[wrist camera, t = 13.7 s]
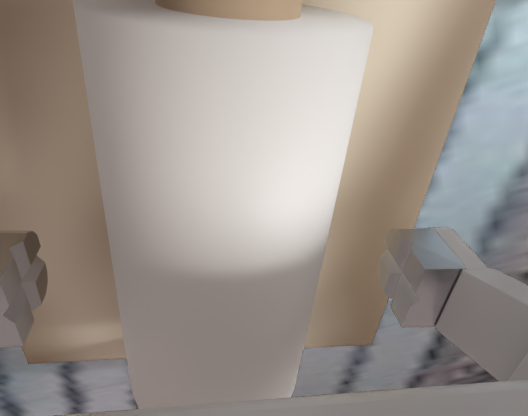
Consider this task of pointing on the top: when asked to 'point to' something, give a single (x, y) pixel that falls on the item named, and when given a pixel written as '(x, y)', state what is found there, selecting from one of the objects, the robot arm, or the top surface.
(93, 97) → the paper roll
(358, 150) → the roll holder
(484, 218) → the top surface
